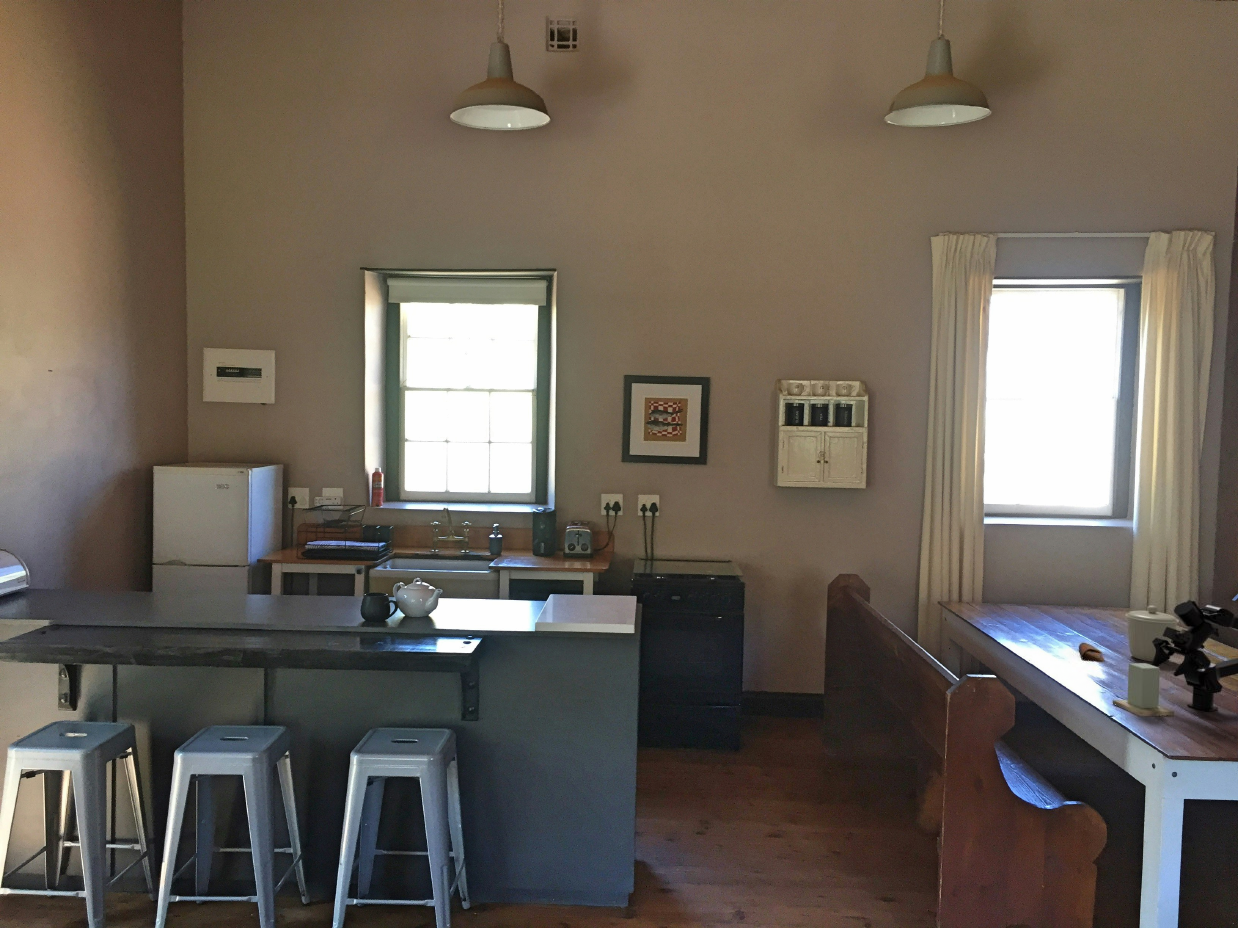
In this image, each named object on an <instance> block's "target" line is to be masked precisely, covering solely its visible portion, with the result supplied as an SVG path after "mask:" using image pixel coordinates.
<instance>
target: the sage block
mask: <svg viewBox="0 0 1238 928" xmlns="http://www.w3.org/2000/svg"><path fill="white" fill-rule="evenodd" d="M1160 671H1161V668H1160V667H1159V666H1158V667H1155V666H1152V664H1149V663H1145V662H1143V663H1141V662H1139V663H1138V662H1136V663H1128V678H1127V679H1128V680H1127V699H1126V700H1127V703H1130V704H1132V705H1135V706H1137V707H1140V708H1158V705H1160V704H1159V701H1160V700H1159V699H1160V678H1161V677H1160V675H1161V672H1160Z"/></svg>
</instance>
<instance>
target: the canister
mask: <svg viewBox="0 0 1238 928" xmlns="http://www.w3.org/2000/svg"><path fill="white" fill-rule="evenodd" d="M1124 615H1125V618H1126V623H1127V624H1126V625H1127V635H1128V637H1127V638H1128V648H1129V652H1130V655H1131V657H1133V658H1135V659H1137V660H1140V661H1146V662H1151V663H1152V662H1153V659H1154V656H1155V653H1156V649H1155V647H1154V644H1153V643H1152V641H1153V640H1154V639H1155V638H1162V639H1165V640H1167V641H1168V642H1169V643H1170V644H1171V645H1172V646H1174V644H1172V643H1171V639H1169V638H1167V637H1164V636H1162V635H1163V633H1164V631H1165V629H1166V627H1170V628H1173V629H1176V630H1177V627H1178V626H1177V624H1178V623H1180V619H1178V618H1176V617H1175V616H1174V615H1172V614H1168V613H1165V612H1158V607H1157V606H1156V605H1148V606H1147V608H1146V610H1132V611H1129V612H1127V613H1125V614H1124ZM1169 657H1170V658H1171V656H1169Z"/></svg>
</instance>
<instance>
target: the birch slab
mask: <svg viewBox="0 0 1238 928" xmlns="http://www.w3.org/2000/svg"><path fill="white" fill-rule="evenodd" d="M1127 700H1128V699H1113V700H1112V703H1113V704H1116V705H1117V706H1116V707H1118V706H1120V707H1122V708H1124V709H1126V710H1125V711H1127V710H1128V711H1127V712H1129V711H1130V712H1129V713H1131V712H1132V713H1131V714H1133V713H1134V715H1136V716H1138V715H1139V716H1138V717H1158V716H1159V715H1160V716H1159V717H1164V716H1166V715H1171V716H1175V713H1176V711H1174V710H1172V709H1170V708H1168V707H1165V706H1163V705H1160V704H1158V708H1140V707H1137V706H1135V705H1132V704H1130V703H1127ZM1113 704H1112V705H1113ZM1120 707H1119V708H1120ZM1122 708H1121V709H1122ZM1124 709H1123V710H1124ZM1162 715H1163V716H1162ZM1166 717H1167V716H1166Z"/></svg>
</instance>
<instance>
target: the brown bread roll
mask: <svg viewBox="0 0 1238 928" xmlns="http://www.w3.org/2000/svg"><path fill="white" fill-rule="evenodd" d="M1078 651H1079V653H1080V656H1081V659H1082V660H1083V661H1088V660H1089V662H1098V663H1106V660H1105V658H1104V657H1103V654H1102V651H1101V650H1100V649H1098V648H1096V647H1095V646H1094V645H1092V644H1089V643H1087V642H1081V643H1080V644H1079V645H1078Z"/></svg>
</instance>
